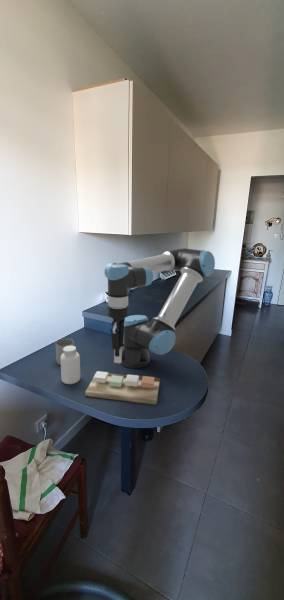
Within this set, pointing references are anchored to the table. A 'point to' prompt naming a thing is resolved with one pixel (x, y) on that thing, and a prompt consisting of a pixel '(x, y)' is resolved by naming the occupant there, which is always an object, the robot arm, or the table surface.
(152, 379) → the key terracotta
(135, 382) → the white key
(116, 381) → the key sage
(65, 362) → the pill bottle
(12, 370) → the table surface
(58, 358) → the cup
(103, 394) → the keypad board
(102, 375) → the white key
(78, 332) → the table surface
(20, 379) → the table surface
